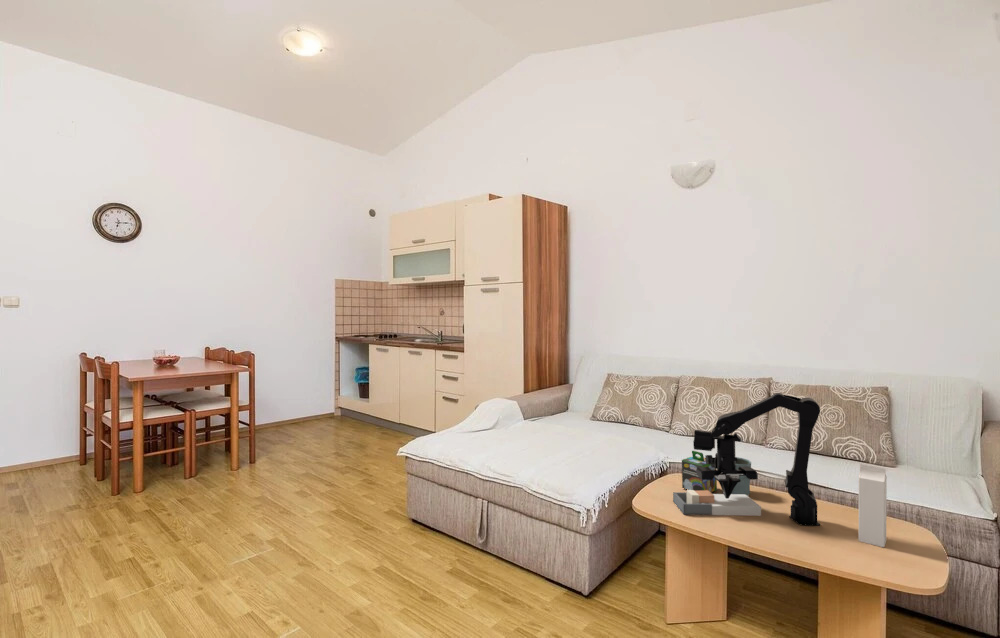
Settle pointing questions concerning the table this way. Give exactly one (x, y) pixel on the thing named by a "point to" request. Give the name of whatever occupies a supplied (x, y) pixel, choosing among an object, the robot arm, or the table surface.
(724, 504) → the board
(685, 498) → the tray
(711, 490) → the chalk box
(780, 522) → the table surface
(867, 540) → the milk
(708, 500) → the tile
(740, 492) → the grey-blue cup
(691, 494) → the tile
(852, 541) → the table surface
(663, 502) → the table surface
